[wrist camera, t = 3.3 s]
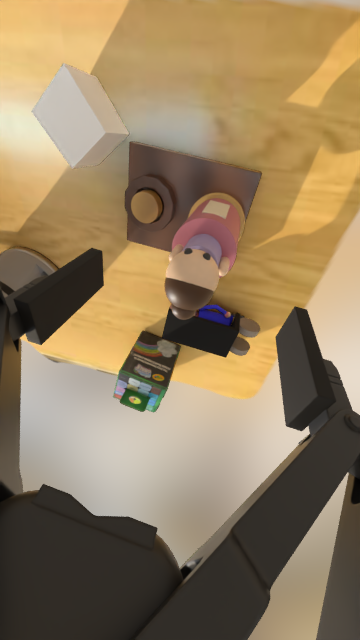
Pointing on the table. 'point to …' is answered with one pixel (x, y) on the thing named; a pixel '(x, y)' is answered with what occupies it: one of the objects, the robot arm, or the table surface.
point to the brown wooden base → (180, 189)
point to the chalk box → (146, 372)
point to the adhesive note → (79, 117)
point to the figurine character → (211, 331)
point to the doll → (203, 252)
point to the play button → (146, 206)
